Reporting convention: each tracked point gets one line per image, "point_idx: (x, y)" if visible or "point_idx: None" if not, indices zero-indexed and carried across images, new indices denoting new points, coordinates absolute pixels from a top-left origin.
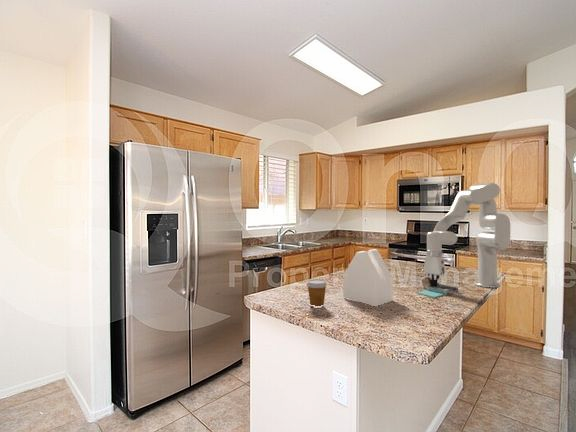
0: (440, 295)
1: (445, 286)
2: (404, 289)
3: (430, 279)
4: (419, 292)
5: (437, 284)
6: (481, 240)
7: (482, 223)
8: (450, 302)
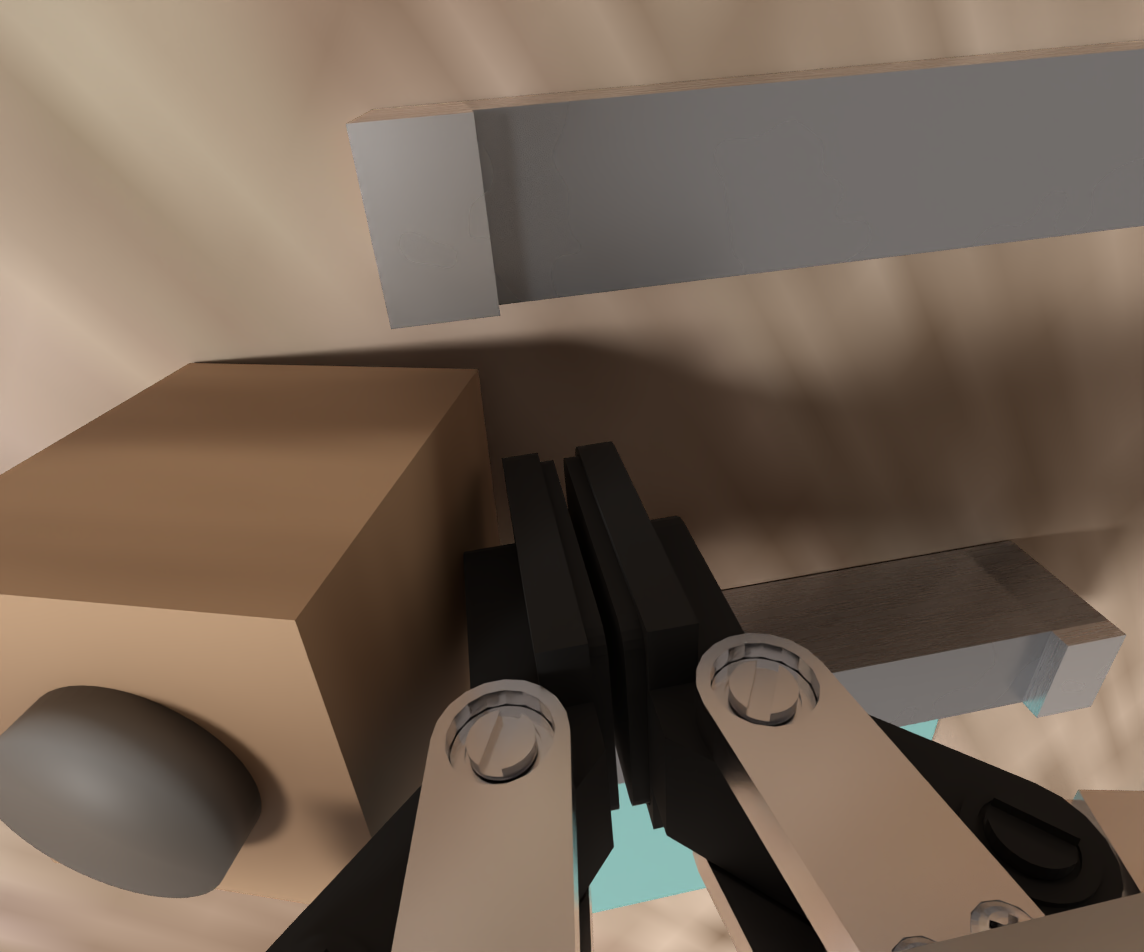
0: (930, 724)
1: (872, 248)
2: (213, 936)
3: (394, 731)
4: (592, 894)
5: (516, 300)
6: None
7: None
8: (1129, 780)
